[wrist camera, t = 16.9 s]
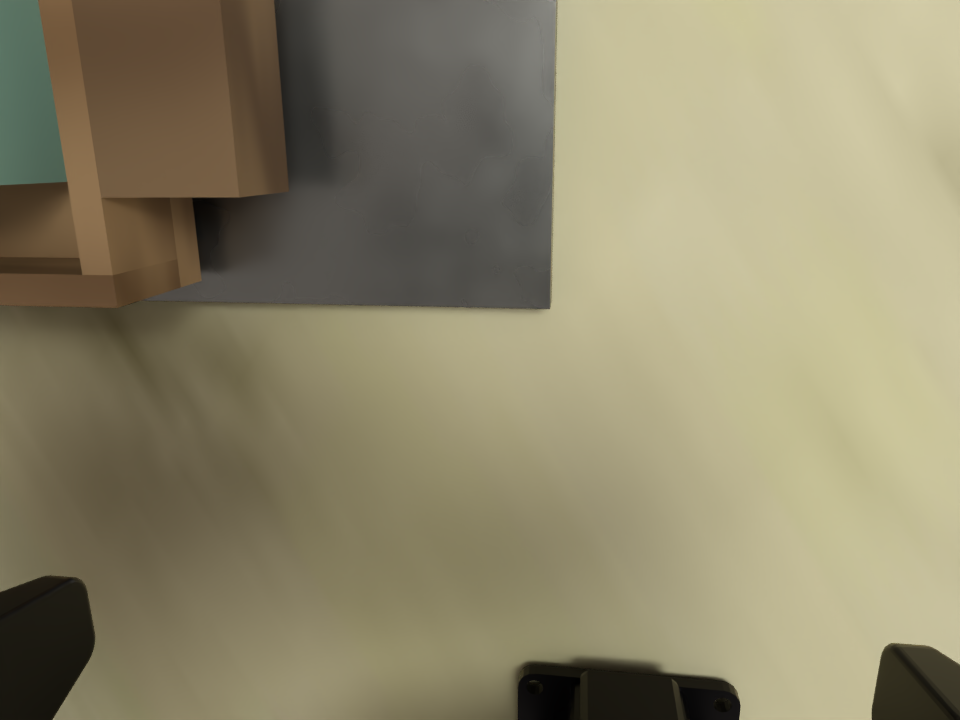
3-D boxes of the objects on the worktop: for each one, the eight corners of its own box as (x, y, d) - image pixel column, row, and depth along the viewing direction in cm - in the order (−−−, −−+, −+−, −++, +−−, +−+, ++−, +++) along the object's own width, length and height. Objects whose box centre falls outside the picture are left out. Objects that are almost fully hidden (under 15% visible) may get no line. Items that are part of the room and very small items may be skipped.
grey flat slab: (551, 302, 19) (545, 326, 16) (-109, 289, 22) (-206, 308, 19) (560, -182, 16) (555, -250, 13) (-207, -126, 19) (-340, -173, 16)
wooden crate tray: (320, 278, 19) (250, 310, 15) (-83, 272, 20) (-242, 299, 16) (290, -144, 16) (196, -241, 12) (-170, -112, 18) (-383, -188, 14)
